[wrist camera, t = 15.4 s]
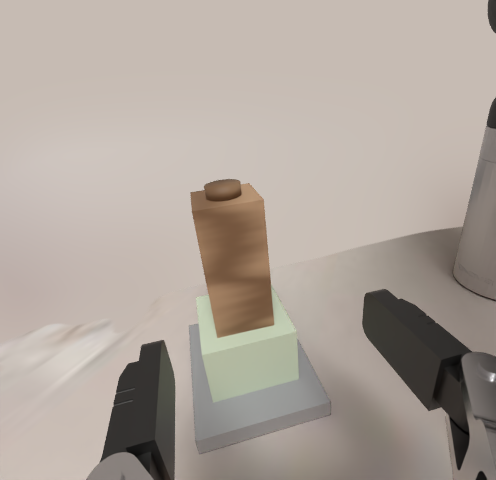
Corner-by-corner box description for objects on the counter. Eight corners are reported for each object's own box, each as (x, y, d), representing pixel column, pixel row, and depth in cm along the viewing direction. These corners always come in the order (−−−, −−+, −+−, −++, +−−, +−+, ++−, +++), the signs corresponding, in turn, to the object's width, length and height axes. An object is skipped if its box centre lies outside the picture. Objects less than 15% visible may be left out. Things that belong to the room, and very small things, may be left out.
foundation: (280, 315, 33) (276, 265, 30) (330, 414, 22) (331, 351, 19) (191, 336, 31) (179, 286, 29) (199, 454, 21) (180, 392, 18)
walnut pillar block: (260, 292, 26) (248, 172, 22) (274, 325, 22) (262, 187, 18) (212, 302, 26) (188, 181, 21) (217, 338, 22) (189, 198, 17)
